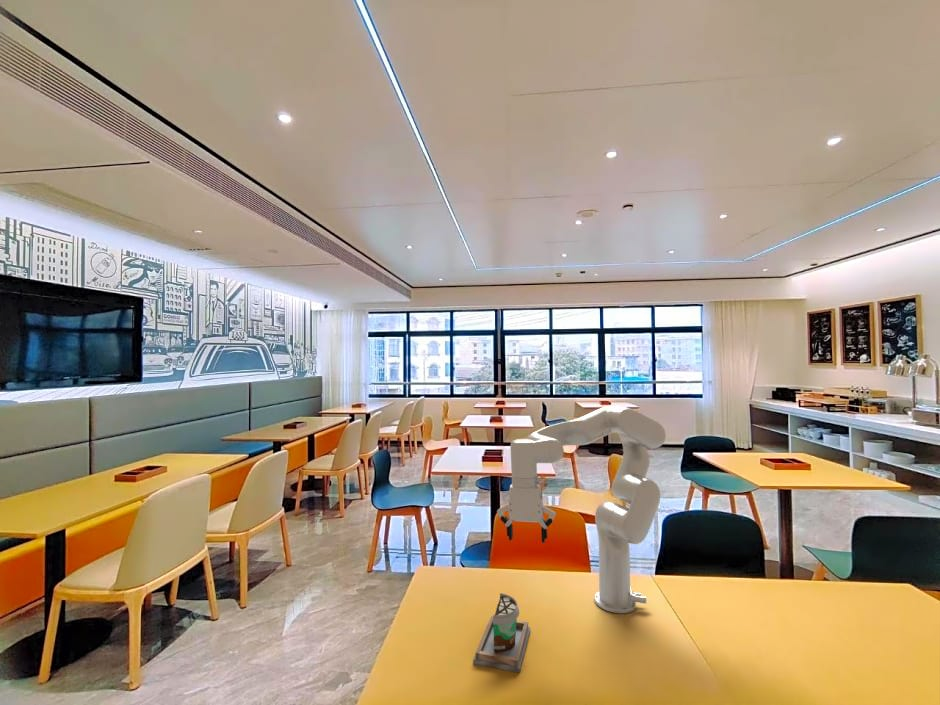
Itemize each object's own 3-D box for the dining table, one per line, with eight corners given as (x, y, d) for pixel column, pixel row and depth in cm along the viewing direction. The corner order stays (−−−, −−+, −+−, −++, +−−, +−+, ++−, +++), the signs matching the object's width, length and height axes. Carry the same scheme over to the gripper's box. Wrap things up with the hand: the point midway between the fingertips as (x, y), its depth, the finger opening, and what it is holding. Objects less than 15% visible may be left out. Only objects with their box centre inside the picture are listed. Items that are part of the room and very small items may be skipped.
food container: (516, 659, 109) (516, 619, 110) (492, 655, 111) (492, 616, 111) (521, 630, 121) (521, 594, 122) (500, 627, 123) (500, 592, 123)
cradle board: (530, 630, 123) (530, 621, 123) (519, 672, 106) (519, 662, 106) (489, 623, 127) (489, 614, 127) (473, 663, 109) (473, 653, 109)
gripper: (555, 479, 128) (557, 536, 128) (498, 477, 133) (500, 533, 132) (553, 486, 121) (556, 547, 121) (493, 484, 125) (495, 543, 125)
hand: (527, 539), depth 126 cm, fingers open, 9 cm apart
